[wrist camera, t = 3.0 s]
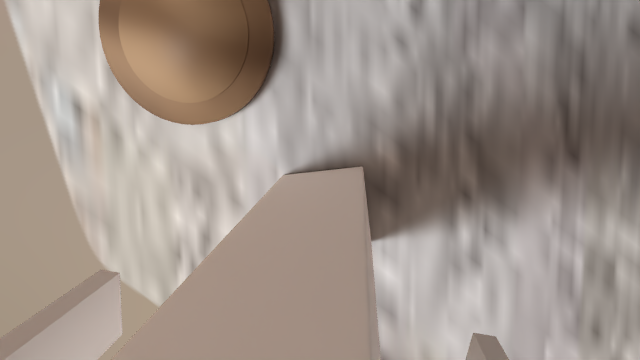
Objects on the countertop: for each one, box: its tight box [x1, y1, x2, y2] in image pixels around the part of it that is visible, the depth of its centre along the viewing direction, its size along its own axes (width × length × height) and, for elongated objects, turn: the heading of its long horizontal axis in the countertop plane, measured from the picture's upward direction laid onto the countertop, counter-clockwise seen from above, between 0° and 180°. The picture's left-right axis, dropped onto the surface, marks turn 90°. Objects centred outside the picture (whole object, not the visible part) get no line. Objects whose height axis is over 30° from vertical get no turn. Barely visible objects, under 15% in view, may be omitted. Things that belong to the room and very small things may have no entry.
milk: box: [111, 167, 381, 360], centre depth 14 cm, size 6×6×22 cm
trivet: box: [99, 0, 274, 125], centre depth 22 cm, size 12×12×1 cm
